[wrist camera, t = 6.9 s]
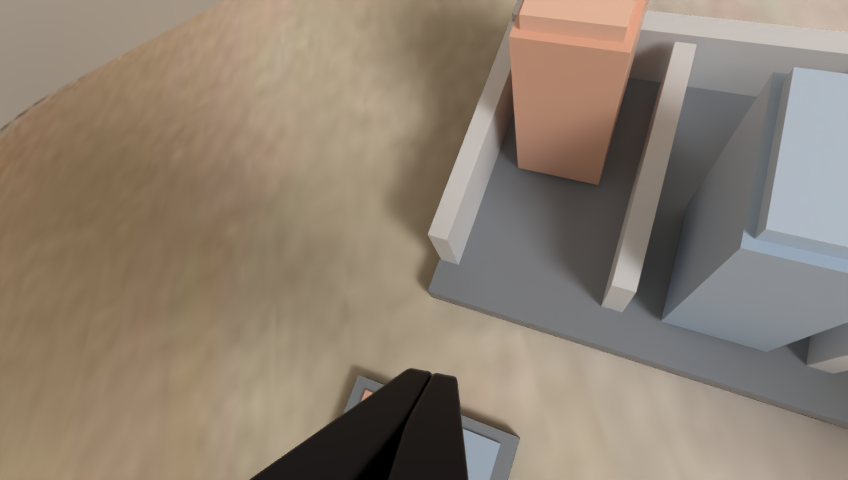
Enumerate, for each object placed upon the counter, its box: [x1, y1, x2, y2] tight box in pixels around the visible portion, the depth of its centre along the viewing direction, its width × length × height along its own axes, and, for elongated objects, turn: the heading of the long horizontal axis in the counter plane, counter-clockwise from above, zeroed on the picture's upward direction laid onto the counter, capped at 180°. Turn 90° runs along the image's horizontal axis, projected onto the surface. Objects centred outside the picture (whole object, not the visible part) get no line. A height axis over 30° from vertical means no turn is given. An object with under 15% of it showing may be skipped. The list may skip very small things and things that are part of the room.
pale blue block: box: [661, 67, 848, 352], centre depth 15 cm, size 4×5×9 cm
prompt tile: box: [343, 375, 520, 480], centre depth 20 cm, size 7×4×1 cm, turn 70°
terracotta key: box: [509, 0, 649, 185], centre depth 18 cm, size 4×5×9 cm
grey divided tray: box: [428, 0, 848, 429], centre depth 19 cm, size 22×14×4 cm, turn 70°
